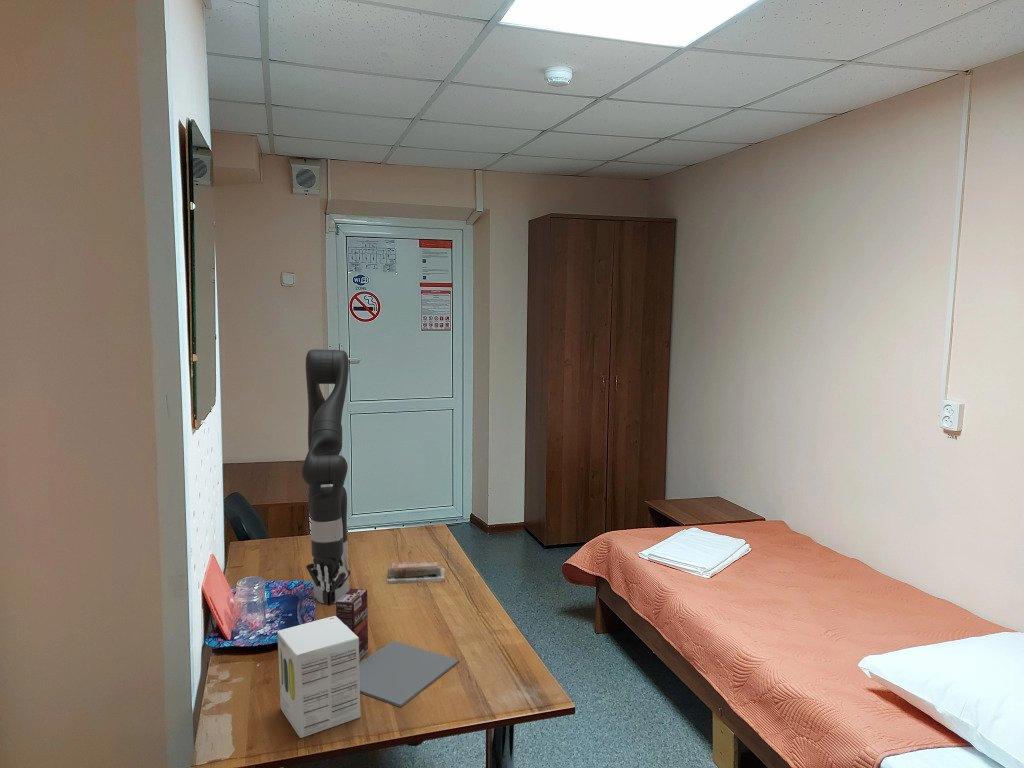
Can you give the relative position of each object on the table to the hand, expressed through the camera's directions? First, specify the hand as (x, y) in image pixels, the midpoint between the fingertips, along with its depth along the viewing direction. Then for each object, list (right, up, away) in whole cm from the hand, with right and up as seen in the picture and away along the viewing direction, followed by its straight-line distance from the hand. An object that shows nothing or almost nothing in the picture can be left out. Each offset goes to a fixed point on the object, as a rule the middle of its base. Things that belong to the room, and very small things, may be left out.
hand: (329, 604), depth 173 cm
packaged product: (+15, -8, +49) cm, 52 cm away
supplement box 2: (+6, -13, -2) cm, 14 cm away
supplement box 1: (+5, -15, -25) cm, 30 cm away
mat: (+18, -13, -9) cm, 24 cm away
